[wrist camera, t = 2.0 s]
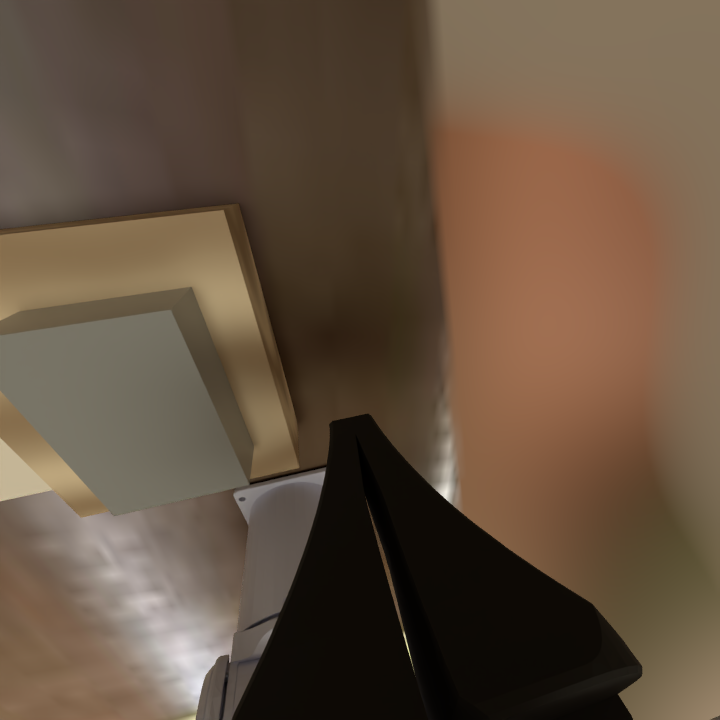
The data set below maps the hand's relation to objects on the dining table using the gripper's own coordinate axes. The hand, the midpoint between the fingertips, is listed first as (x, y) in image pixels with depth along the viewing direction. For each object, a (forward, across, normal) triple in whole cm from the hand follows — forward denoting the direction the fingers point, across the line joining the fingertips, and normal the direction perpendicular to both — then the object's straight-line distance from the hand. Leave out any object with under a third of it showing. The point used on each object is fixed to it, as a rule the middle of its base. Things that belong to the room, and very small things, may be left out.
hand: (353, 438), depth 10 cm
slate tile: (+5, +8, 0) cm, 10 cm away
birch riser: (+9, +9, 0) cm, 13 cm away
